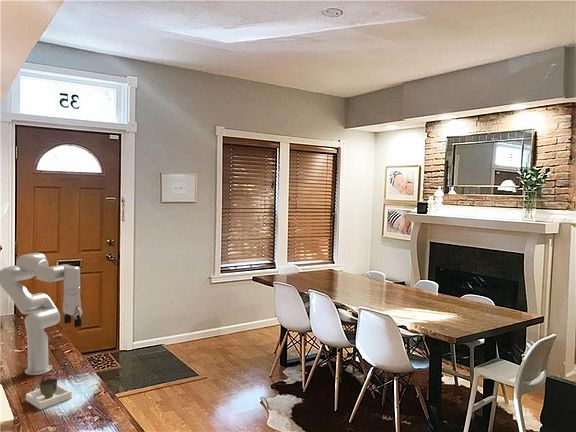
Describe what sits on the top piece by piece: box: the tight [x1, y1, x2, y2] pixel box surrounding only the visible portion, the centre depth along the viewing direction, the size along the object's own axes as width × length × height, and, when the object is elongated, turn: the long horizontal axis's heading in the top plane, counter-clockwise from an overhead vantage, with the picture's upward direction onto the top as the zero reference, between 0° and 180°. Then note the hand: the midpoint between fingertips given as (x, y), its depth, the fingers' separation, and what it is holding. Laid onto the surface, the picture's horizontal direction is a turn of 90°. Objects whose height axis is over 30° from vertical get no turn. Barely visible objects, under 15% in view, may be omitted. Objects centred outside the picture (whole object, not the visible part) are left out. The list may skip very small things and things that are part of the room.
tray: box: [25, 383, 73, 410], centre depth 212 cm, size 14×14×3 cm
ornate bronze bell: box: [38, 377, 58, 399], centre depth 212 cm, size 8×7×8 cm
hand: (72, 324), depth 231 cm, fingers open, 9 cm apart
